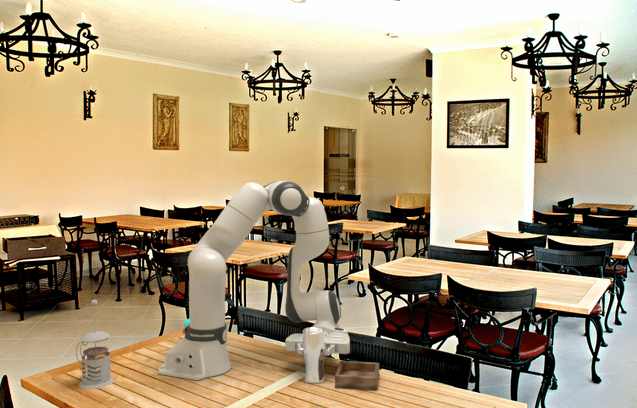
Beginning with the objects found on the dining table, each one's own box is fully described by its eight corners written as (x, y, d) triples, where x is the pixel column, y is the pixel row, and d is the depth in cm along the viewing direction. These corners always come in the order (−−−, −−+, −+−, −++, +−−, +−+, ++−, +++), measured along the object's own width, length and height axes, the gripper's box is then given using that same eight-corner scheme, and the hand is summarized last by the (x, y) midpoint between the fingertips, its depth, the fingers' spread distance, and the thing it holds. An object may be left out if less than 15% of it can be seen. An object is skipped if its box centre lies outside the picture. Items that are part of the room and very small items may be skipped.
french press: (98, 390, 143) (95, 304, 142) (66, 386, 147) (63, 302, 145) (121, 377, 152) (119, 297, 151) (91, 373, 156) (88, 294, 155)
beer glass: (323, 384, 145) (323, 334, 145) (300, 383, 147) (299, 333, 146) (327, 375, 152) (327, 327, 152) (305, 374, 154) (305, 326, 153)
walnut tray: (335, 387, 143) (334, 375, 143) (340, 371, 155) (340, 360, 155) (376, 390, 141) (376, 378, 141) (379, 374, 153) (379, 363, 153)
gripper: (290, 326, 164) (279, 340, 150) (352, 329, 160) (347, 343, 146) (290, 345, 164) (279, 360, 150) (352, 349, 160) (347, 364, 147)
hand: (313, 352), depth 148 cm, fingers closed on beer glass, 7 cm apart
